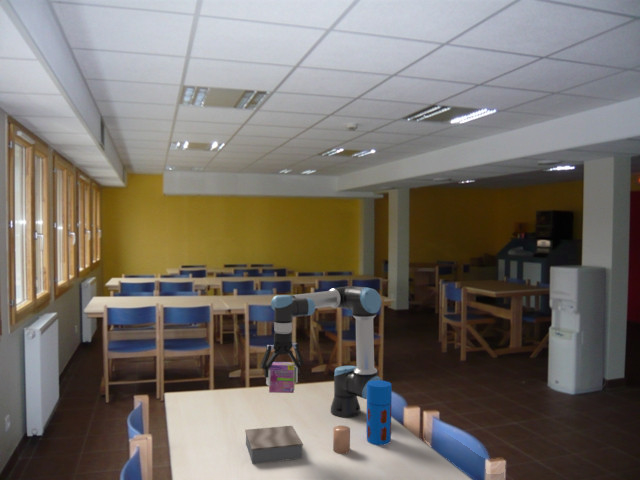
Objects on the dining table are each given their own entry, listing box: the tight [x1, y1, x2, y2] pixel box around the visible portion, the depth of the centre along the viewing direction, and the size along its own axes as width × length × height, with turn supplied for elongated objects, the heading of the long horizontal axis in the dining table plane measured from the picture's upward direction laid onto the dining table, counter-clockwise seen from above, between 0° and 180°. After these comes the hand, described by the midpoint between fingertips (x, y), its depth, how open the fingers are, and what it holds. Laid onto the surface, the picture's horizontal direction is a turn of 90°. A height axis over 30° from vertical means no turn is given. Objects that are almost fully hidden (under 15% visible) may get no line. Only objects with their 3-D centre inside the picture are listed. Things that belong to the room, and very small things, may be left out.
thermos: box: [365, 380, 393, 446], centre depth 230 cm, size 11×11×25 cm
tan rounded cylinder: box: [332, 425, 351, 455], centre depth 219 cm, size 7×7×9 cm
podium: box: [244, 425, 304, 464], centre depth 217 cm, size 21×21×6 cm
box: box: [268, 361, 296, 394], centre depth 221 cm, size 10×6×12 cm, turn 89°
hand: (281, 383), depth 221 cm, fingers closed on box, 12 cm apart
